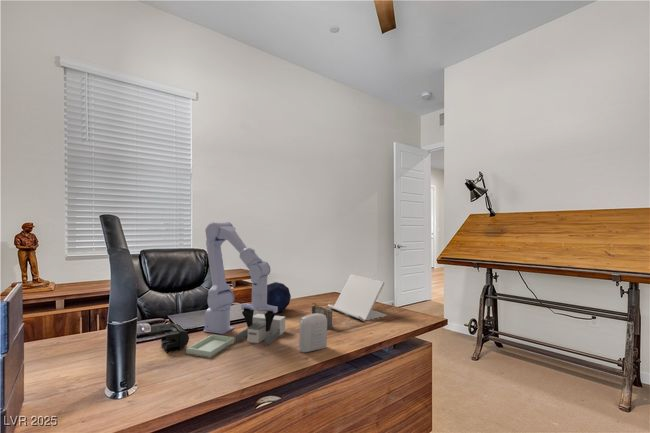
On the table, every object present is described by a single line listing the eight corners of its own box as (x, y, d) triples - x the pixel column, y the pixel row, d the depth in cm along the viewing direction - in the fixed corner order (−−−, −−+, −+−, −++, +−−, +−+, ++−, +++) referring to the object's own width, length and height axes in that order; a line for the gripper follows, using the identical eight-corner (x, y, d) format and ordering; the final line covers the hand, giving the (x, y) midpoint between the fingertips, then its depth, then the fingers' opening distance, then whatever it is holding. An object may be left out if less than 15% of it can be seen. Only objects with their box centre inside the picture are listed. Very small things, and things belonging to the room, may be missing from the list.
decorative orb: (300, 298, 168) (283, 274, 170) (290, 305, 153) (272, 279, 155) (279, 313, 170) (263, 289, 172) (267, 322, 156) (250, 295, 158)
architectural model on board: (310, 323, 146) (311, 301, 146) (316, 322, 147) (316, 300, 148) (326, 330, 137) (326, 307, 137) (332, 329, 138) (332, 306, 139)
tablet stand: (354, 305, 178) (354, 273, 178) (387, 316, 157) (387, 281, 157) (326, 309, 168) (327, 276, 168) (358, 322, 147) (359, 284, 147)
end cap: (188, 349, 114) (189, 329, 114) (166, 353, 110) (167, 333, 110) (181, 340, 122) (182, 322, 122) (160, 344, 118) (161, 325, 118)
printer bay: (236, 341, 122) (236, 325, 122) (257, 328, 137) (257, 313, 137) (266, 345, 118) (266, 329, 118) (285, 331, 134) (285, 316, 134)
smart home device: (190, 326, 135) (134, 335, 123) (190, 330, 135) (133, 339, 123) (185, 320, 141) (132, 328, 130) (185, 324, 141) (132, 333, 130)
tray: (186, 354, 110) (186, 348, 110) (212, 339, 123) (212, 334, 123) (210, 357, 107) (210, 351, 107) (234, 342, 120) (234, 337, 120)
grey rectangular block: (246, 342, 121) (246, 327, 121) (259, 334, 130) (259, 320, 130) (257, 344, 120) (257, 329, 120) (269, 335, 129) (269, 321, 129)
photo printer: (321, 344, 120) (322, 310, 120) (328, 348, 117) (328, 313, 117) (297, 350, 115) (297, 314, 115) (303, 354, 111) (303, 317, 111)
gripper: (237, 294, 124) (236, 330, 124) (272, 297, 120) (271, 335, 119) (246, 291, 131) (246, 325, 130) (280, 293, 126) (279, 329, 126)
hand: (258, 329), depth 125 cm, fingers open, 7 cm apart
